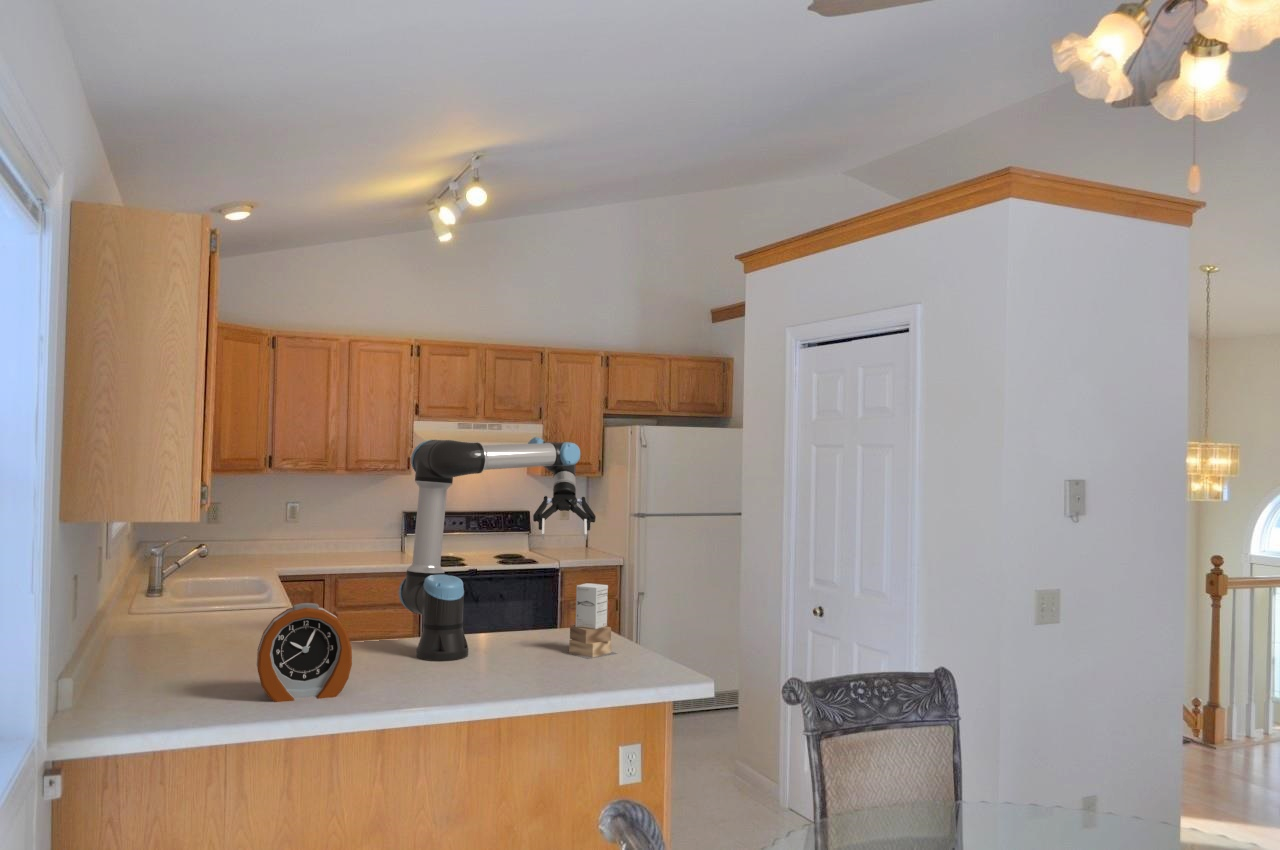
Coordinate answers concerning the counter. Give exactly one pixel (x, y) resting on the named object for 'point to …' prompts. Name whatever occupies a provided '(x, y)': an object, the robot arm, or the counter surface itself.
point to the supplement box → (591, 605)
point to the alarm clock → (304, 654)
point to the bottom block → (590, 648)
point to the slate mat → (591, 657)
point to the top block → (590, 634)
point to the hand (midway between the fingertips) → (564, 536)
